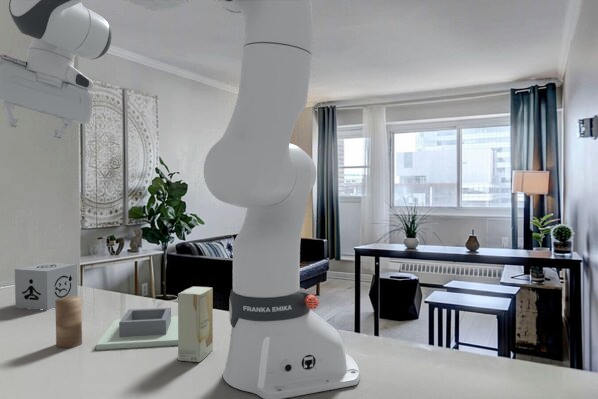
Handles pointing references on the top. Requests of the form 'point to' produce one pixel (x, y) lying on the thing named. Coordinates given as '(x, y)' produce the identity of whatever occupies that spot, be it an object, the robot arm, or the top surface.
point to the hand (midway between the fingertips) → (35, 132)
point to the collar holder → (141, 330)
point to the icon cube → (44, 284)
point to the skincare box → (195, 323)
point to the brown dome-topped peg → (68, 322)
